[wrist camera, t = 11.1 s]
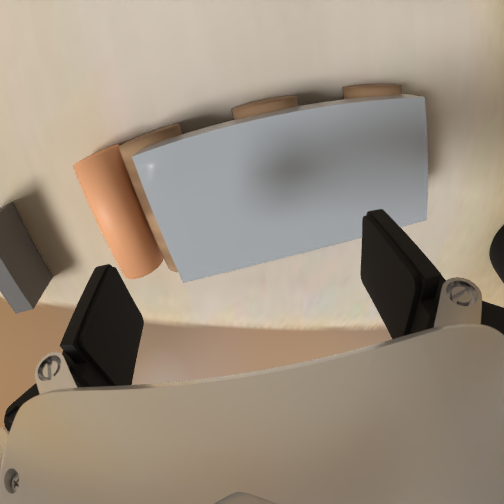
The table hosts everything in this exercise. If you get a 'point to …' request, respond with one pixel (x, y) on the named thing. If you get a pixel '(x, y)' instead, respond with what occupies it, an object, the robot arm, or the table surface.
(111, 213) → the roller
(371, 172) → the slab
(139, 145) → the roller
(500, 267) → the mug
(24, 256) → the block
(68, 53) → the table surface
